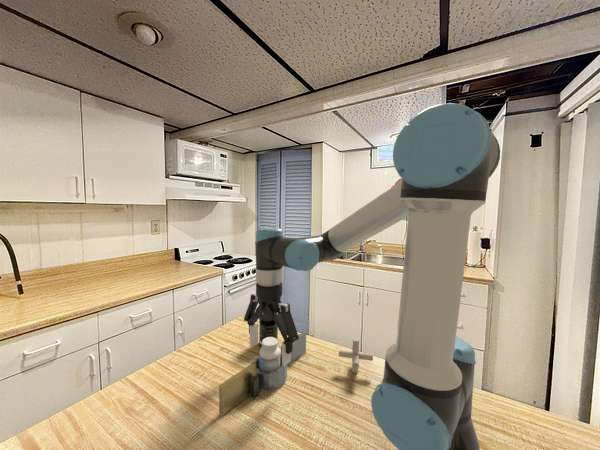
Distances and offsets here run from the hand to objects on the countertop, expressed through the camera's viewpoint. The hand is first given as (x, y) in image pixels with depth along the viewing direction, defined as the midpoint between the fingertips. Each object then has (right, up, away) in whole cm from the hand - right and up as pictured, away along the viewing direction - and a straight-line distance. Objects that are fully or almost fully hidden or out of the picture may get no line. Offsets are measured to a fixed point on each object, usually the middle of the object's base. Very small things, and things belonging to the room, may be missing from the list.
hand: (269, 353), depth 72 cm
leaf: (-7, -8, -8) cm, 13 cm away
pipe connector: (+26, -8, +4) cm, 27 cm away
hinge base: (+3, -7, +4) cm, 8 cm away
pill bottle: (0, -8, 0) cm, 8 cm away
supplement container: (-2, -6, +18) cm, 19 cm away
